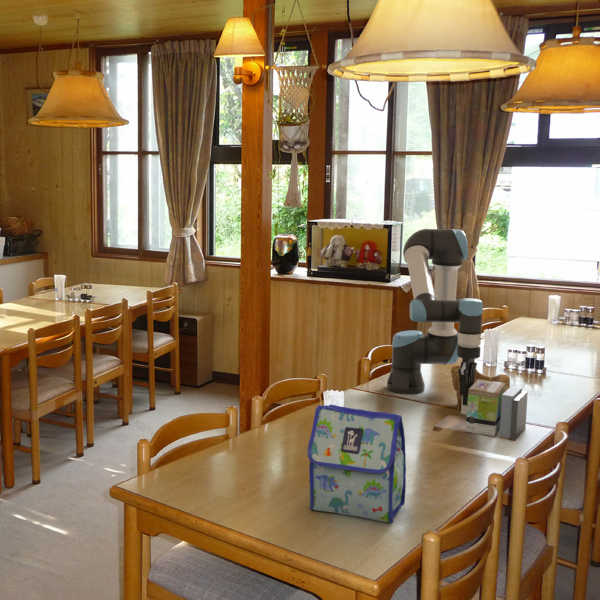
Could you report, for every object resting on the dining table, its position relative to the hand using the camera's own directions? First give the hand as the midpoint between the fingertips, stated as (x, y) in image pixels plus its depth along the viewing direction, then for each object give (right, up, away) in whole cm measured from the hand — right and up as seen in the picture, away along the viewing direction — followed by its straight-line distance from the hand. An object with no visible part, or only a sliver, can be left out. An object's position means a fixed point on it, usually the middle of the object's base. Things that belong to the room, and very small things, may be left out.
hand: (465, 413), depth 248 cm
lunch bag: (-42, -14, -64) cm, 78 cm away
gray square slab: (+15, -5, -8) cm, 18 cm away
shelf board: (+4, -5, -2) cm, 7 cm away
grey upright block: (+13, -5, -7) cm, 16 cm away
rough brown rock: (+8, -2, +21) cm, 22 cm away
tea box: (+6, -5, -3) cm, 8 cm away
